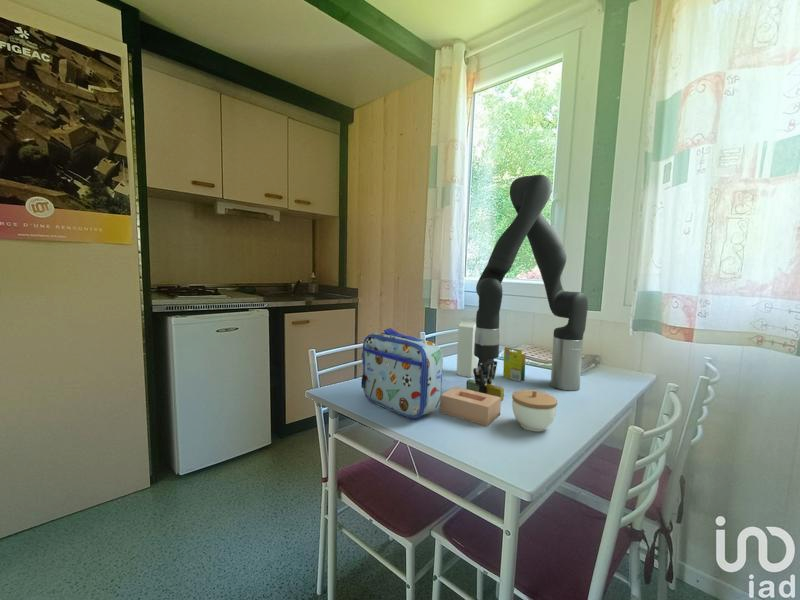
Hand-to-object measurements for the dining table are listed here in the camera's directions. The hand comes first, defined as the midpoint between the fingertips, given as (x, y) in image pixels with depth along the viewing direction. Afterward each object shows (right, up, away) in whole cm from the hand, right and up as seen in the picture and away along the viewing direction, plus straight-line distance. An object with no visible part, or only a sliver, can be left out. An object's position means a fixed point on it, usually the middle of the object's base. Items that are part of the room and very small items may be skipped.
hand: (484, 395), depth 111 cm
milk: (-1, +1, +24) cm, 24 cm away
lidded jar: (+7, -3, -20) cm, 22 cm away
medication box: (0, 0, 0) cm, 1 cm away
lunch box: (-28, -1, -9) cm, 29 cm away
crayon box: (+15, +1, +19) cm, 25 cm away
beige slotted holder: (-7, -1, -13) cm, 15 cm away
